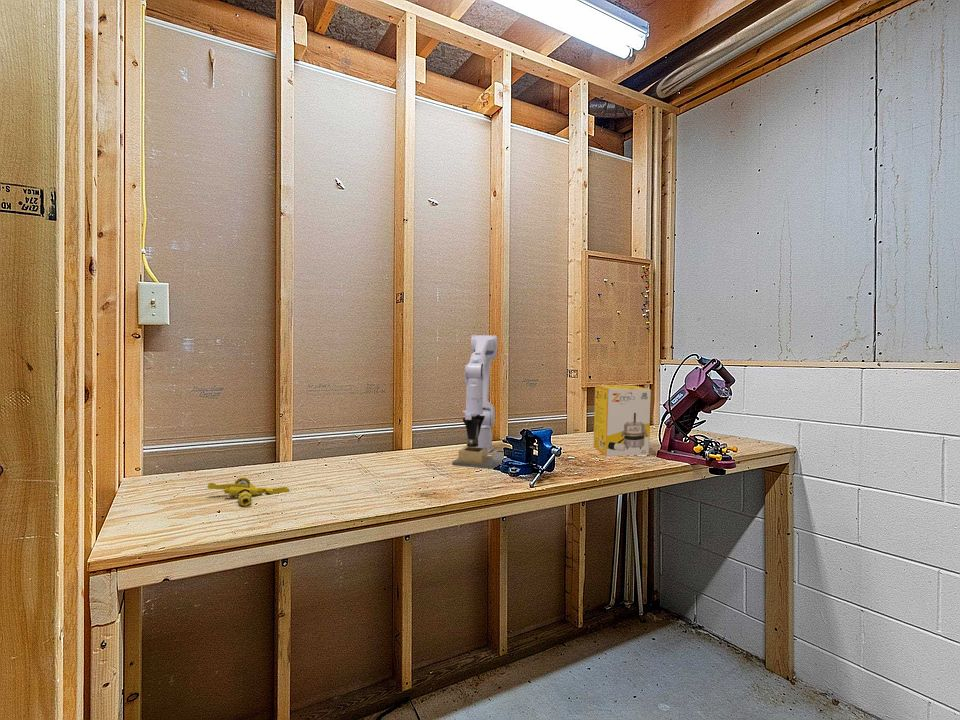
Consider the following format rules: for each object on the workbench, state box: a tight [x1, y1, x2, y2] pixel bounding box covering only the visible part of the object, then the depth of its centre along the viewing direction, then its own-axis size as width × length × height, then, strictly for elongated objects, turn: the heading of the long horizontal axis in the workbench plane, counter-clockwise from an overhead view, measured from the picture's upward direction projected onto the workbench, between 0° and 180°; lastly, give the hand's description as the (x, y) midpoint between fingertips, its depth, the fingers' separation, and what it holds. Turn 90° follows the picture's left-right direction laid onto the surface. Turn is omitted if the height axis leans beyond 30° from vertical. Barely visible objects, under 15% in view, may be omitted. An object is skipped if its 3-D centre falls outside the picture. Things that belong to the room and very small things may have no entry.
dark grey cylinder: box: [466, 426, 479, 447], centre depth 171 cm, size 4×4×8 cm
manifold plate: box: [452, 445, 504, 470], centre depth 170 cm, size 12×18×4 cm, turn 75°
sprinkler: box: [207, 477, 290, 507], centre depth 129 cm, size 19×4×15 cm
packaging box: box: [593, 384, 652, 457], centre depth 193 cm, size 16×16×25 cm
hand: (473, 438), depth 171 cm, fingers closed on dark grey cylinder, 4 cm apart
